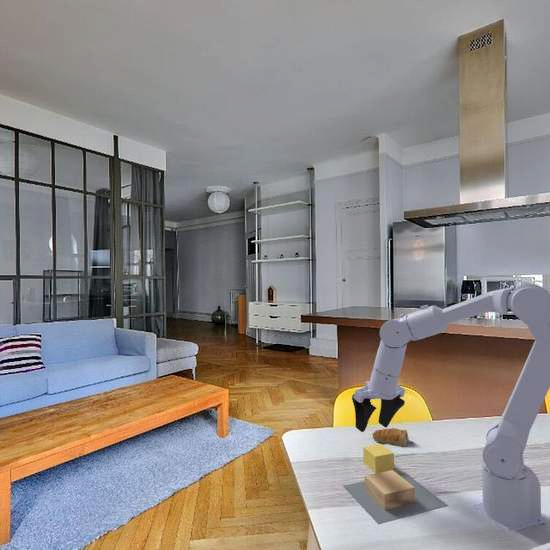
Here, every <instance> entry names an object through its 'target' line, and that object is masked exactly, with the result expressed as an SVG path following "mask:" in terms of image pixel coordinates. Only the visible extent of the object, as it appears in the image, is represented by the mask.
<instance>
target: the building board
mask: <svg viewBox="0 0 550 550" xmlns="http://www.w3.org/2000/svg"><path fill="white" fill-rule="evenodd" d="M397 474H398V475H400V476H401V477H402V478H403V479H405V480H406V481H407V482H409V483H410V484H411V485H412V486H414V487H415V503H411V504H407V505H403V506H399V507H395V508H391V509H387V510H384V509H383V508H382V507H381V506H380V505H379V504H378V503H377V502H376V501H375V500H374V499H373V498H372V497H371V496H370V495H369V494H368V493H367V492H366V491H365V480H363V481H360V482H354V483H350V484H345V485H342V487H343V488H344V489H345V490H346V491H347V492H348V493H349V494H350V495H351V496H352V498H354V500H355V501H356V502H357V503H358V504H359V505H360V506H361V507H362V509H364V511H365V512H366V513H367V514H368V515H369V516H370V517H371V519H373V520H374V521H375V523H376V524H378V525H380V524H383V523H384V524H385V523H388V522H392V521H395V520H396V521H397V520H399V519H404V518H408V517H411V516H415V515H419V514H422V513H426V512H430V511H434V510H437V509H441V508H445V507H449V505H448V504H447V503H446V502H445V501H443V500H442V499H441V498H440V497H438V496H437V495H436V494H434V493H433V492H432V491H430V490H429V489H428V488H426V487H425V486H424V485H422V484H421V483H420V482H418V481H417V480H416V479H414V478H413V477H412V476H410V475H409V474H408V473H407V472H400V473H397Z"/></svg>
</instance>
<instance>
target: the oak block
mask: <svg viewBox="0 0 550 550" xmlns="http://www.w3.org/2000/svg"><path fill="white" fill-rule="evenodd" d="M398 474H399V473H398V472H396V471H394V470H389V471H384V472H380V473H372V474H367V475H364V481H365V491H366V492H367V493H368V494H369V495H370V496H371V497H372V498H373V499H374V500H375V501H376V502H377V503H378V504H379V505H380V506H381V507H382V508H383V509H384V510H387V509H391V508H395V507H399V506H403V505H407V504H411V503H415V487H414V486H412V485H411V484H410V483H409V482H407V481H406V480H405V479H403V478H402V477H401V476H400V475H398Z"/></svg>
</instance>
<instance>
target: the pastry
mask: <svg viewBox="0 0 550 550" xmlns="http://www.w3.org/2000/svg"><path fill="white" fill-rule="evenodd" d="M371 435H372V438H373V440H374V441H376V442H377V443H380V442H381V443H380V444H382V445H395V446H399V447H407V443H408V442H409V435H408V431H407V429H399V428H395V427H392V428H381V429H377V430H375V431H374V432H373V433H372V434H371Z"/></svg>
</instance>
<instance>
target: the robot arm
mask: <svg viewBox="0 0 550 550" xmlns="http://www.w3.org/2000/svg"><path fill="white" fill-rule="evenodd" d="M513 288H514V286H511V287H507V288H501V289H495V290H491V291H487V292H485V293H482V294H480V295H476V296H475V297H471V298H469V299H467V300H463V301H461V302H458V303H456V304H453V305H449V306H447V307H445V308H441V307H438V306H437V305H431V306H429V305H428V304H425V305H421V306H420V309H419V310H416V311H414V312H410V313H408V314H406V313H400V314H399V318H393V319H389V320H387V321H385V322H384V323H383V324H382V325H381V326H380V329H379V337H380V342H379V347H378V348H377V352H376V356H375V358H374V359H375V360H374V363H373V367H372V371H371V375H370V379H369V381H365V386H363V387H361V388H359V389H355V390H354V393H353V394H352V396H351V401H352V403H353V407H354V415H355V428H356V429H357V430H358V431H359V432H361V433H364V432H365V431H366V430H367V427H368V424H369V420H370V418H371V417H372V414H373V413H374V412H375V411H376V410H377V407H376V406H375V405H374V404H372V401H371V400H376V399H379V400H380V410H379V414H378V415H379V416H378V424H379V425H381V426H382V427H383V428H388V426H389V425H390V423H391V421H392V419H393V418H394V416H395V415H396V414H397V412H398V411H399V410H400V409H401V408H403V406H405V402H406V401H405V400H404V399H403V397H405V393H406V389H405V388H404V387H402V386H400V385H398V381H399V379H400V375H401V371H402V367H403V364H404V359H405V354H406V350H407V348H408V347H407V346H408V343H409V342H411V341H419V340H422V339H425V338H429V337H432V336H436V335H438V334H441V333H444V332H446V330H447V328H448V327H449V326H448V325H449V324H451V323H455V322H458V321H461V320H465V319H468V318H473V317H476V316H478V315H483V314H486V313H495V314H501V315H508V313H509V309H510V311H511V312H512V314H514V315H515V316H516V317H517V318H518V320H520V321H522V322H523V324H525V325H526V326H527V328H528V330H529V331H530V333H531V335H532V336H533V338H534V339H535V340H534V342H533V345H532V347H531V349H530V351H529V354H528V355H527V358H526V361H525V363H524V365H523V368H522V370H521V372H520V375H519V377H518V379H517V381H516V382H515V383H516V384H515V386H514V388H513V390H512V392H511V395H510V397H509V400H508V402H507V404H506V407H505V409H504V411H503V413H502V415H501V416H499V417H500V418H499V420H498V422H497V423H496V424H495V425H493V426H492V427H491V428H489V429H488V430H487V432H486V436H485V437H486V439H485V440H486V441H485V445H484V448H483V449H482V461H481V463H482V464H481V465H482V466H481V472H482V473H481V474H482V477H481V479H482V483H481V484H482V502H480V503H477V504H472V505H471V507H472V508H473V509H474V510H476V511H477V512H478V513H480V514H482V515H483V516H484V517H486V518H487V519H489V520H490V521H491V522H493V523H494V524H495V525H497V526H498V527H500V528H501V529H502V530H504V531H506V532H507V533H511V532H515V531H517V530H518V531H519V530H521V529H522V530H523V529H525V528H528V527H531V526H534V525H537V524H538V525H539V526H540V525H543V524H546V522H547V520H546V519H545V517H543V516H542V503H541V502H542V499H541V497H542V496H541V495H542V494H541V493H542V492H541V490H542V489H541V482H540V480H539V478H538V476H537V475H536V473H535V471H533V470H532V468H530V467H529V466H527V465H526V464H525V461H524V453H525V452H524V451H525V449H526V447H527V443H528V440H529V435H530V433H531V429H532V428H533V425H534V423H535V420H536V418H537V416H538V414H539V412H540V409H541V407H542V405H543V403H544V400H545V398H547V397H546V396H547V395H548V392H549V389H550V292H549V291H548V290H547V289H545V288H544V287H542V286H540V285H539V284H535V283H523V284H520V285H518V286H516V287H515V288H514V289H513ZM511 291H512V292H511Z"/></svg>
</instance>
